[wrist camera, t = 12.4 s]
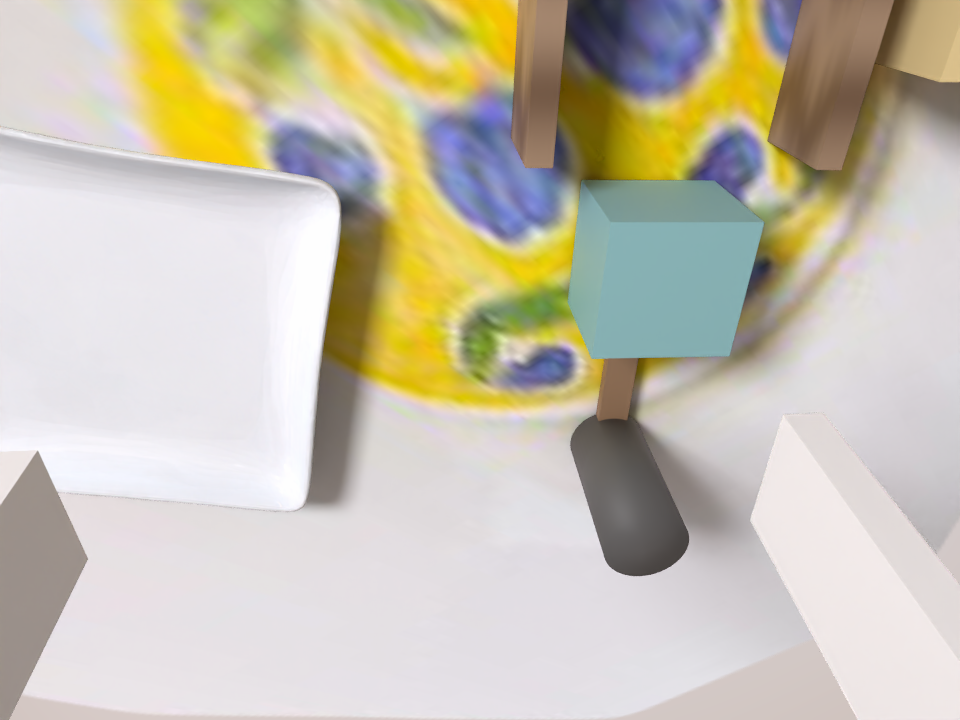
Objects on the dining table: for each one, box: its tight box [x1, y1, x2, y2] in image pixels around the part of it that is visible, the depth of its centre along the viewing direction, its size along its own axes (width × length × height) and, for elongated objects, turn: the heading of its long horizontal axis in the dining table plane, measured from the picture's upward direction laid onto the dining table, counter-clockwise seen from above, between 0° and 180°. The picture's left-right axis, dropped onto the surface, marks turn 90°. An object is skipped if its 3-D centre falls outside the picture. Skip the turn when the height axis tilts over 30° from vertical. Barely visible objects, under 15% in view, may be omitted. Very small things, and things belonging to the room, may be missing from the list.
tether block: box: [568, 180, 764, 576], centre depth 37 cm, size 19×7×9 cm, turn 178°
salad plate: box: [0, 126, 341, 512], centre depth 36 cm, size 21×21×3 cm
